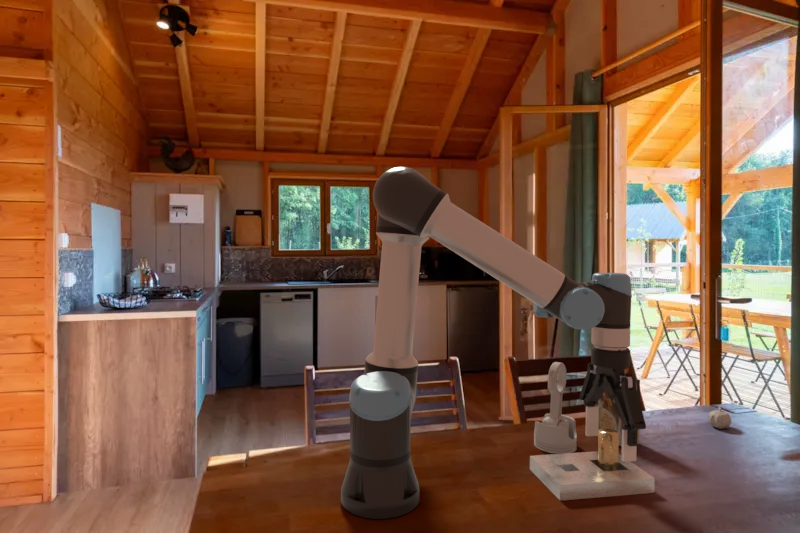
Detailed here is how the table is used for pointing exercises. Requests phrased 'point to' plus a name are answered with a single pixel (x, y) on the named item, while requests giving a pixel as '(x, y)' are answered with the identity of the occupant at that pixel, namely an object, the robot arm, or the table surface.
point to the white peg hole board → (589, 476)
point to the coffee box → (612, 413)
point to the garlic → (719, 419)
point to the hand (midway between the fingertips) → (609, 447)
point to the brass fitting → (608, 449)
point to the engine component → (556, 418)
